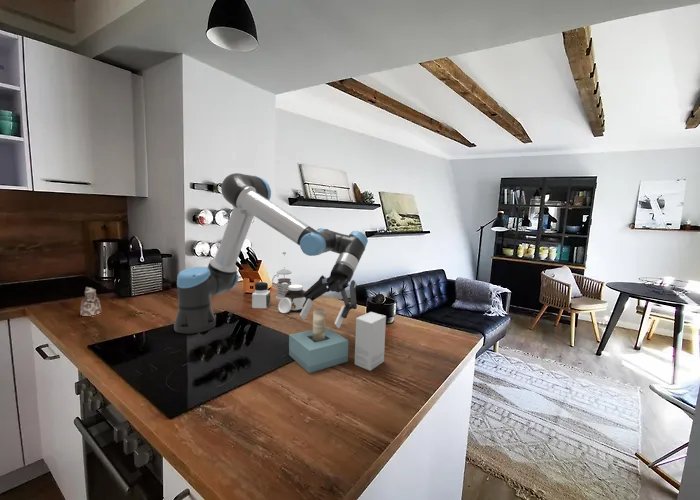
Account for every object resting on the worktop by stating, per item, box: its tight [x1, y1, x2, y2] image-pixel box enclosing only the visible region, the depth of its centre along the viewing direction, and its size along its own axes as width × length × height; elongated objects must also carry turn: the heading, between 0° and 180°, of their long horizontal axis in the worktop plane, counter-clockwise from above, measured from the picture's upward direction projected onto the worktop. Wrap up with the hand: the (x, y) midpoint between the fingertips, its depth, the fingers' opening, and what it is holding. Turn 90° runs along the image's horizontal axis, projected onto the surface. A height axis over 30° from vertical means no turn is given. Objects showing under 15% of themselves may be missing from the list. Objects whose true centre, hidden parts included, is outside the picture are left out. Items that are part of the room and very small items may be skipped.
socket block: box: [288, 326, 349, 374], centre depth 103 cm, size 14×14×7 cm
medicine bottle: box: [251, 281, 271, 309], centre depth 156 cm, size 7×7×12 cm
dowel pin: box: [312, 308, 327, 342], centre depth 103 cm, size 4×4×14 cm
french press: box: [271, 251, 292, 300], centre depth 174 cm, size 10×12×25 cm
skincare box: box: [354, 311, 387, 371], centre depth 100 cm, size 8×7×16 cm
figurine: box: [79, 286, 102, 316], centre depth 138 cm, size 7×7×12 cm
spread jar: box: [277, 284, 306, 314], centre depth 151 cm, size 12×11×12 cm
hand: (318, 321), depth 102 cm, fingers open, 13 cm apart
